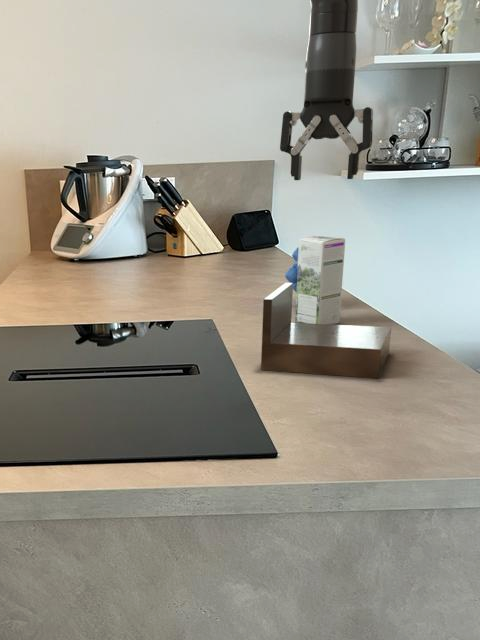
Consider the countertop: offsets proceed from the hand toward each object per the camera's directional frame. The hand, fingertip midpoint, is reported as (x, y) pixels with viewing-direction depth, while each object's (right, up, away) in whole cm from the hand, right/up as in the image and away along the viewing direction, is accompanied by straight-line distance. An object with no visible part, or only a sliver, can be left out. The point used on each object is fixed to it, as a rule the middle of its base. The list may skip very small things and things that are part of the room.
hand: (323, 179), depth 129 cm
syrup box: (+1, -22, +10) cm, 24 cm away
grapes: (+2, -15, +25) cm, 29 cm away
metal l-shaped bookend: (-3, -32, -14) cm, 35 cm away
